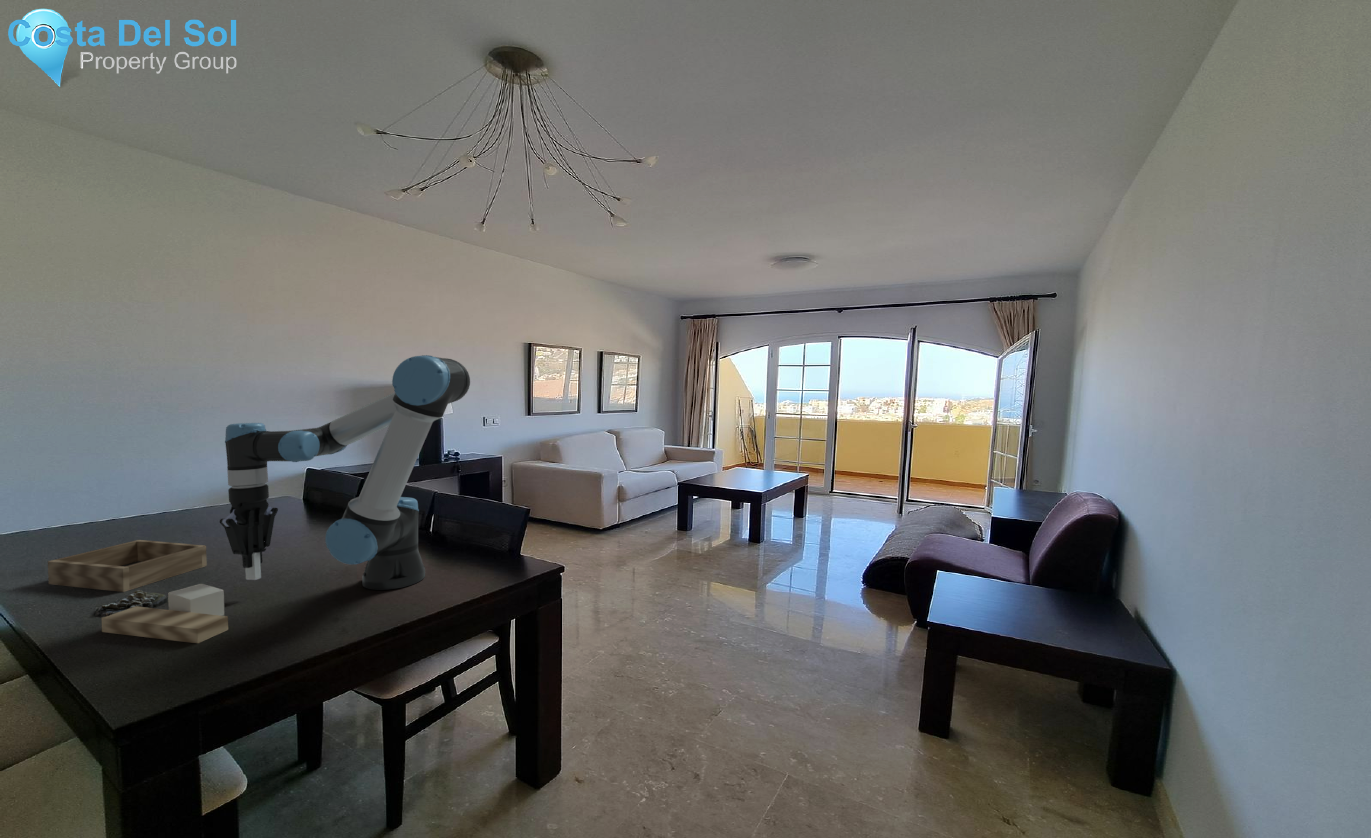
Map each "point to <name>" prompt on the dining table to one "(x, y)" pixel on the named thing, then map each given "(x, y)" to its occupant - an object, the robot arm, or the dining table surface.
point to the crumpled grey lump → (132, 603)
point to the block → (197, 600)
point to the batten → (165, 624)
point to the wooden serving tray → (109, 573)
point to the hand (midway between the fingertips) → (253, 578)
